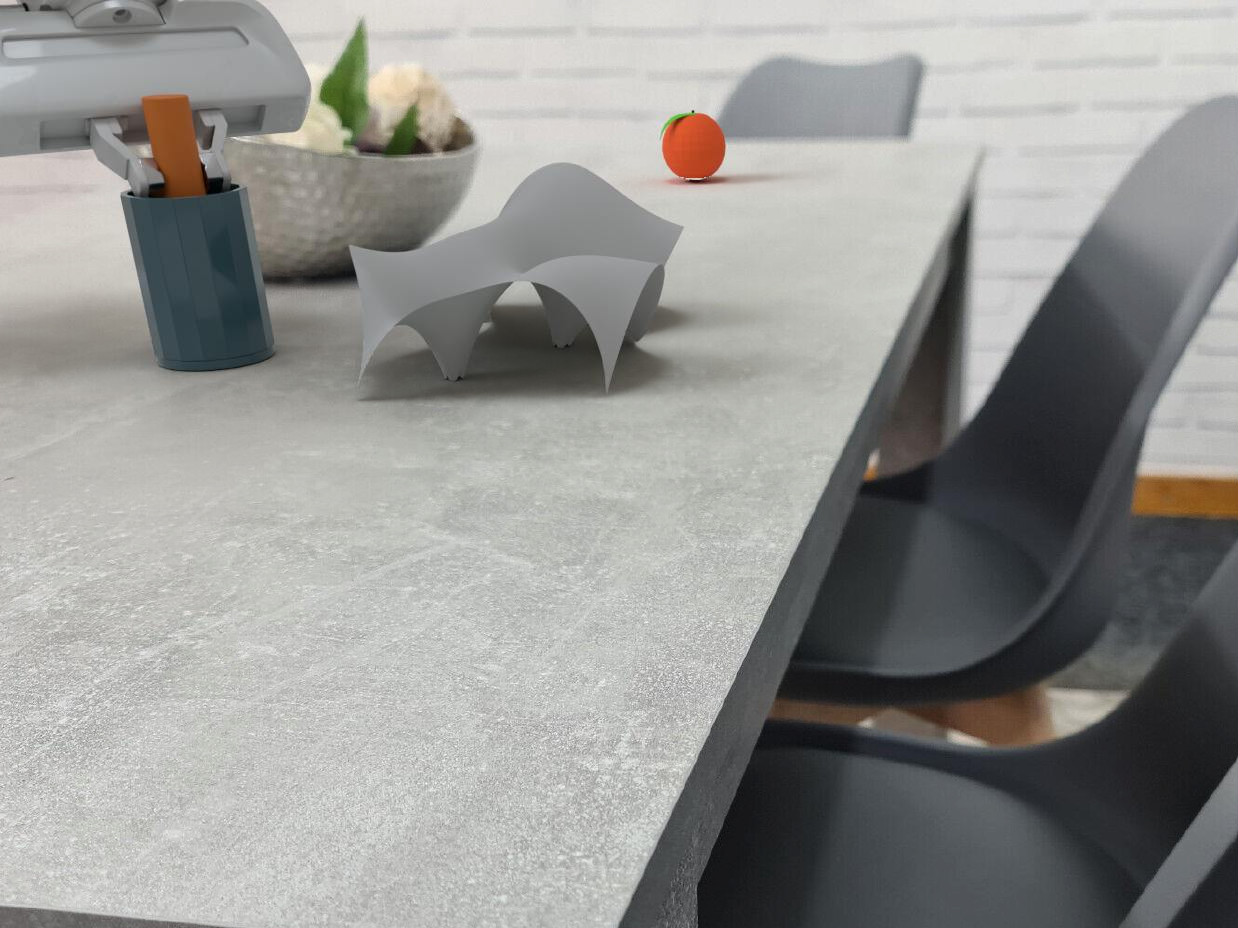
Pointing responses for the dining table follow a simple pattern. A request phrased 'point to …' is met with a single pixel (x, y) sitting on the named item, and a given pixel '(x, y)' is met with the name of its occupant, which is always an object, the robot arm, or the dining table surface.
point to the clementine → (693, 145)
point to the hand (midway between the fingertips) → (186, 190)
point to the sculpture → (526, 270)
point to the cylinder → (174, 144)
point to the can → (200, 279)
